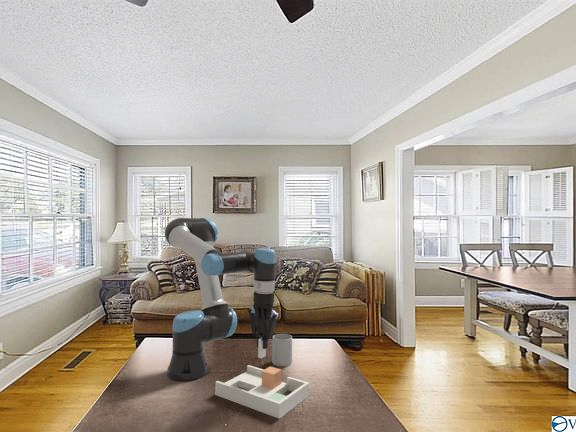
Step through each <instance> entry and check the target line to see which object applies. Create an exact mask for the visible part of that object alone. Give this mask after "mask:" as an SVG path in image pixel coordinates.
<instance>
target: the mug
mask: <svg viewBox="0 0 576 432" xmlns="http://www.w3.org/2000/svg"><path fill="white" fill-rule="evenodd" d="M271 347H272V348H271V349H272V357H271V359H272V360H271V362H272V364H273V365H274V366H276V367H287V366H291V365H292V363H293V336H292V335H291V334H287V333H279V334H278V333H277V334H273V337H272V346H271Z"/></svg>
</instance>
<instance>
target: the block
mask: <svg viewBox="0 0 576 432" xmlns="http://www.w3.org/2000/svg"><path fill="white" fill-rule="evenodd" d="M282 373H283V372H282V369H281V368H277V367H274V366H268V367H267V368H265V369H264V370H263V371H262V386H265V387H268V388H271V389H274V388H276V387H277V386H279V385H280V384H281V382H282V377H283V376H282Z"/></svg>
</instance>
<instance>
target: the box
mask: <svg viewBox="0 0 576 432" xmlns="http://www.w3.org/2000/svg"><path fill="white" fill-rule="evenodd" d="M263 370H265V369H263V368H259V367H256V366H253V365H250V364H248V365H246V371H245V372H243V373H241V374H239V375H237V376H234V377H233V378H231V379H229V380H227V381H225V382H223V381H219V380H215V387H214V388H215V390H214V391H215V392H214V394H215V396H217V397H220V398H222V399H226V400H229V401H230V402H234V403H237V404H239V405H241V406H244V407H246V408H249V409H252V410H255V411H257V412H260V413H262V414H265V415H269V416H270V417H273V418H276V419H281V418H283V417H284V416H285V415H287V414H288V413H289V412H291V410H293V409H294V408H296V407H297V406H298V405H299V404H300V403H302V402H303V401H304V400H306V399H307V398H308V397H310V382H307V381H304V380H302V379H297V378H294V377H291V376H288V377H287V378H286V382H284V381H281V384H280V385H279V386H277V387H276V388H274V389H271V388H268V387H265V386H262V371H263Z"/></svg>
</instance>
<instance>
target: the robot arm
mask: <svg viewBox="0 0 576 432" xmlns="http://www.w3.org/2000/svg"><path fill="white" fill-rule="evenodd" d="M218 234H219V232H218V228H217V225H216V223H215V222H214V221H213V220H212V219H210V218H203V217H200V218H199V217H179V218H178V217H177V218H175V219H172V220H171V221H170V222H169V223H168V224H167V225H165V229H164V238H165V240H166V242H167V243H168V244H169V245H171V246H172V247H174V248H176V249H180V250H181V251H183V252H184V253H185V254H187V255H188V256H190V257H191V258H193V259H194V263H195V269H196V273H197V274H196V275H197V279H198V284H199V289H200V294H201V298H202V304H203V305H202V308H201V309H200V310H199V309H193V310H187V311H184V312H183V311H182V312H180V313H178V314H177V315H176V316H174V318H173V321H172V327H171V328H172V354H171V358H170V362H169V365H168V366H167V372H166V373H167V377H168V378H169V379H171V380H173V381H182V382H184V381H192V380H197V379H199V378H202V377H204V376H205V375H206V374H207V373H208V365H207V362H206V357H205V354H204V344H205V343H209V342H213V341H217V340H223V339H226V338H228V337H231V336H233V334H234V333H235V331H236V330H237V327H238V326H237V325H238V316H237V313H236V311H235V310H234V309H233V308H231V307H229V303H228V302H227V301H225V300H224V296H223V291H222V287H221V283H220V277H219V276H220V275H228V274H237V273H239V274H240V273H246V272H247V273H251V274H253V296H252V297H253V306H252V307H250V308H247V313H248V315H249V319H250V327H251V334H252V336H253V337H256V347H257V358H258V359H263V358H265V357H266V356H267V349H268V347H269V340H270V339H273V336H274V335H275V334H274V333H275V330H276V325H277V321H278V319H279V317H280V312H277V311H275V307H274V303H275V292H274V291H275V290H276V289H275V288H276V287H275V285H276V284H275V283H276V282H275V281H276V278H275V277H276V262H277V259H276V250H274V249H273V248H265V247H262V248H259V247H258V248H255V250H254V252H252V251H248V250H238V251H236V252H221V251H220V250H218V249H217V248H215V245H216V241H217V240H218Z"/></svg>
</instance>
